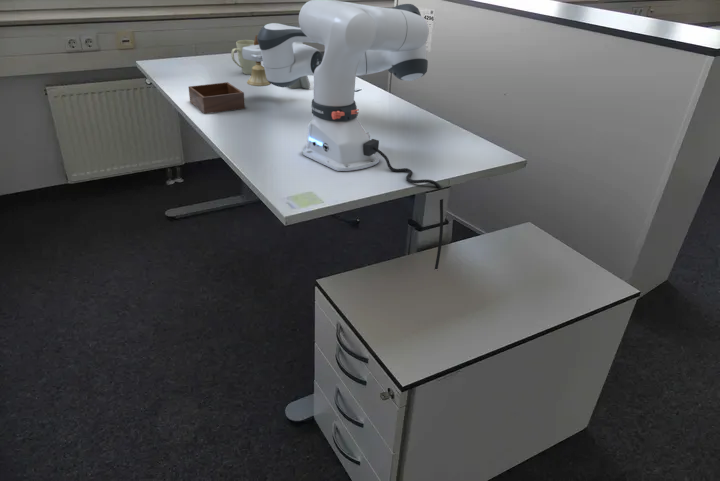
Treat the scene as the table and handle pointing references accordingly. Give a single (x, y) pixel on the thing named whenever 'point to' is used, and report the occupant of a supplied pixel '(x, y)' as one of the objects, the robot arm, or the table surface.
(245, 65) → the mug
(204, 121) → the table surface
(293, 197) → the table surface
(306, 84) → the digital clock
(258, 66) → the hand bell
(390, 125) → the table surface
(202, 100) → the crate
